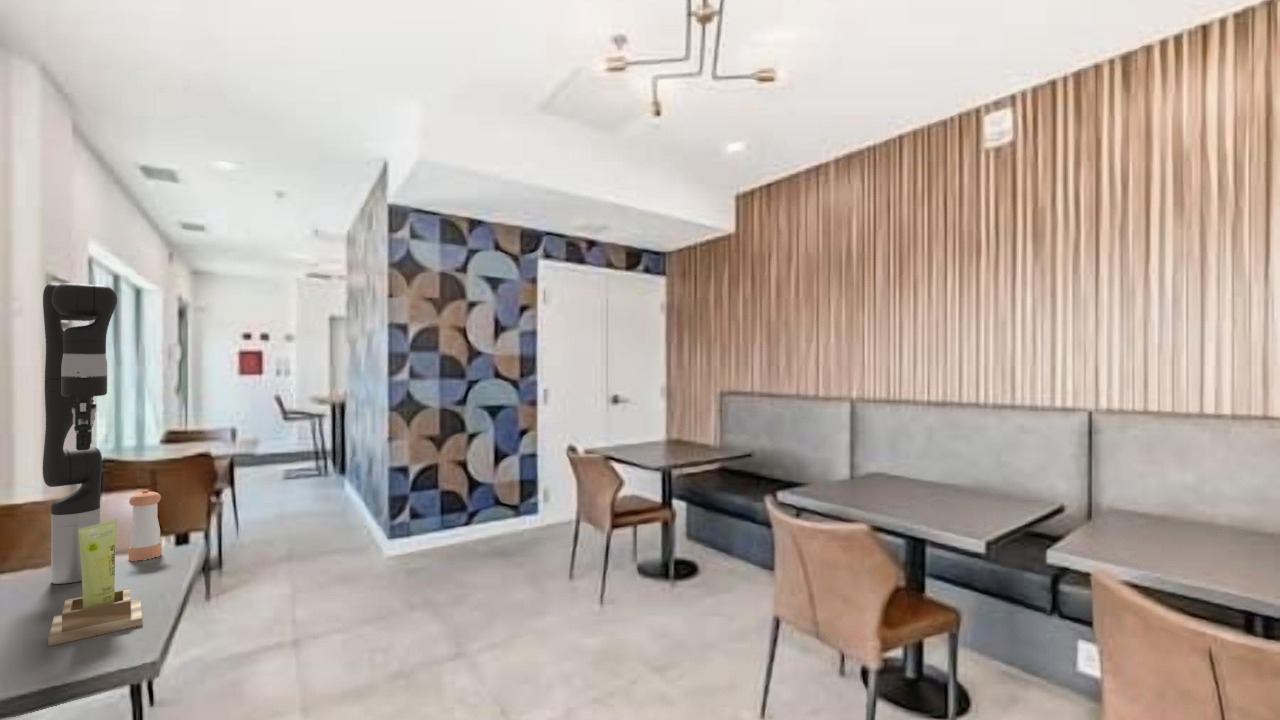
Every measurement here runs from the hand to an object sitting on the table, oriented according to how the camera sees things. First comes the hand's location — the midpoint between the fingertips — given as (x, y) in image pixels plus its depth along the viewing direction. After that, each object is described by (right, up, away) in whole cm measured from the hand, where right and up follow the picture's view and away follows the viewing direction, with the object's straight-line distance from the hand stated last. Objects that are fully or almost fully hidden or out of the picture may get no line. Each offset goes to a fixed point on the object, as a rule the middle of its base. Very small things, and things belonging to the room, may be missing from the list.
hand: (84, 447), depth 134 cm
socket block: (+10, -36, -8) cm, 38 cm away
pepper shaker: (-17, -37, +38) cm, 56 cm away
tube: (+10, -35, -7) cm, 37 cm away
